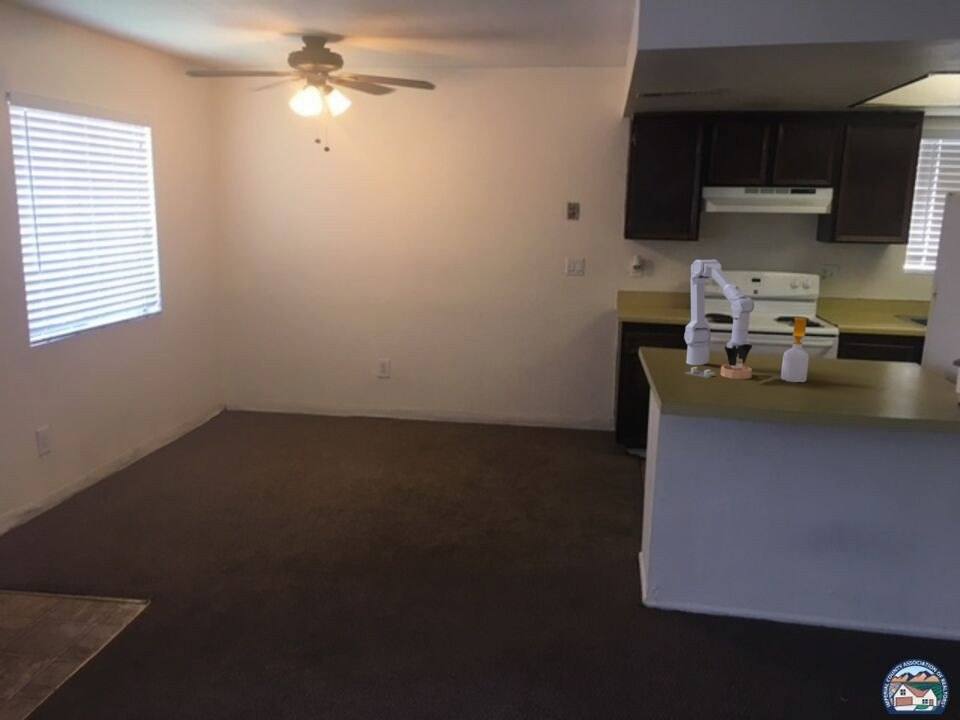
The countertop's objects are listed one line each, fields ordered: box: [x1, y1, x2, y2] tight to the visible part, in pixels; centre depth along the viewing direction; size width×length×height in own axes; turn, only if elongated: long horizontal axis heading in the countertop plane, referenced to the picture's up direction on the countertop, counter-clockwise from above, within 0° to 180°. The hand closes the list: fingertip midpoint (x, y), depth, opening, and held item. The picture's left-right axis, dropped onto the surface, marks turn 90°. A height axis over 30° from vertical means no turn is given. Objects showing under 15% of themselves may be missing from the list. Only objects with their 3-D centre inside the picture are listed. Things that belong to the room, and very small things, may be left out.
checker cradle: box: [684, 366, 717, 379], centre depth 283 cm, size 8×10×3 cm
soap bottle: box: [780, 317, 810, 383], centre depth 278 cm, size 9×9×25 cm
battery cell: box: [731, 357, 743, 371], centre depth 281 cm, size 4×4×7 cm
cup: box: [720, 364, 753, 380], centre depth 281 cm, size 11×11×4 cm
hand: (736, 363), depth 281 cm, fingers open, 7 cm apart
